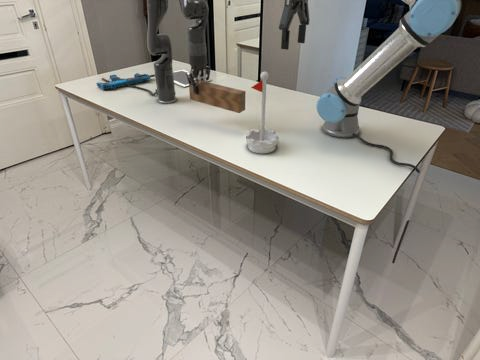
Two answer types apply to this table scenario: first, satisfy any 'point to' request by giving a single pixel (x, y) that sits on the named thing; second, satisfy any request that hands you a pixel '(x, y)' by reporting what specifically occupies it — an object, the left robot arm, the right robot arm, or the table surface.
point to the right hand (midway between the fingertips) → (293, 45)
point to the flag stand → (262, 125)
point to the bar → (219, 96)
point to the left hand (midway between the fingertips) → (200, 92)
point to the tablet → (181, 78)
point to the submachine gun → (124, 81)
